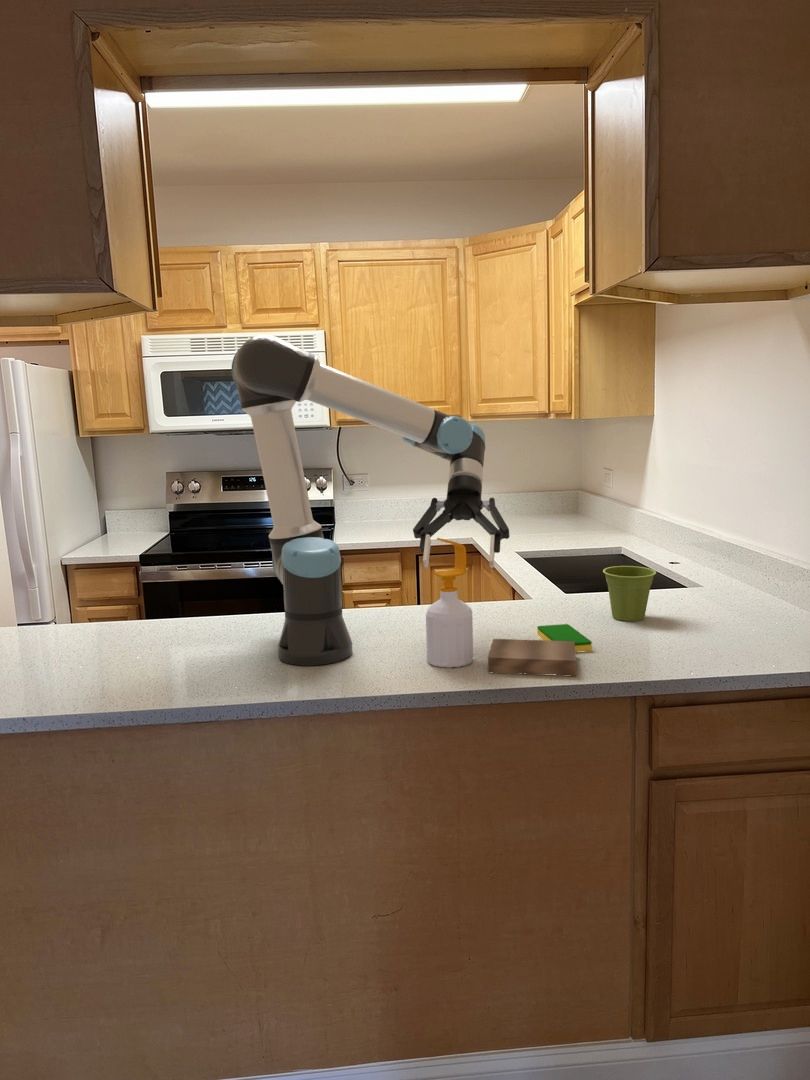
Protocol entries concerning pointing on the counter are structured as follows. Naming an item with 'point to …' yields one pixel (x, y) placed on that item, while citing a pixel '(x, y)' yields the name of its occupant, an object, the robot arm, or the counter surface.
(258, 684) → the counter surface
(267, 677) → the counter surface
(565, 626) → the dish sponge
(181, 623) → the counter surface
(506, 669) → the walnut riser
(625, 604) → the plant pot
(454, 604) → the soap bottle
